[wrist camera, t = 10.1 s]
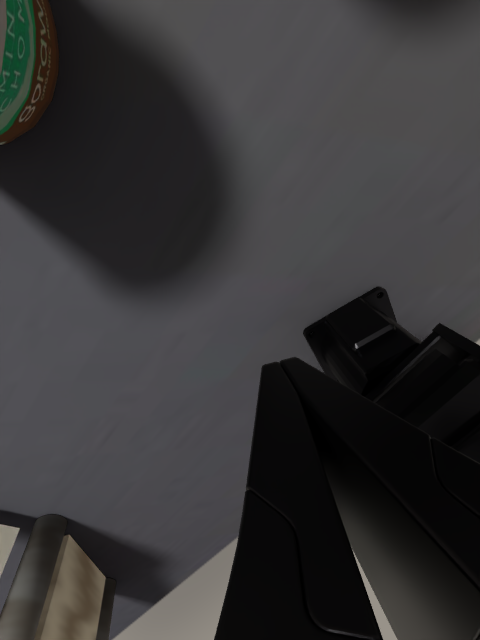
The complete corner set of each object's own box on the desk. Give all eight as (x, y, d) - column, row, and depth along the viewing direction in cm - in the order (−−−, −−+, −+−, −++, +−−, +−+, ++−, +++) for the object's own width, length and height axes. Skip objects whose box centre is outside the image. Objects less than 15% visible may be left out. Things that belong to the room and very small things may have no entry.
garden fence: (120, 585, 35) (97, 768, 25) (96, 592, 35) (63, 780, 24) (59, 511, 28) (-11, 729, 17) (29, 519, 27) (-60, 745, 17)
